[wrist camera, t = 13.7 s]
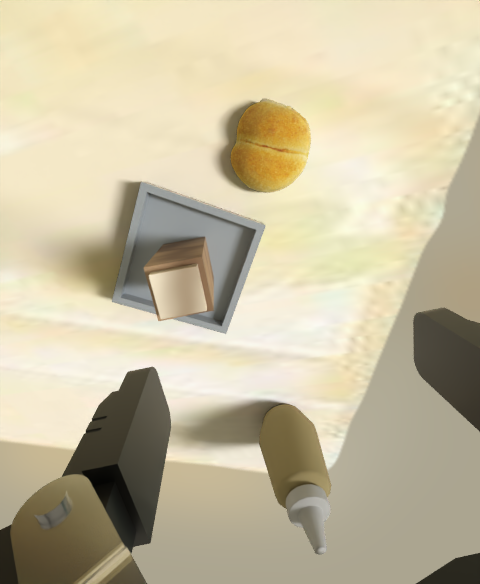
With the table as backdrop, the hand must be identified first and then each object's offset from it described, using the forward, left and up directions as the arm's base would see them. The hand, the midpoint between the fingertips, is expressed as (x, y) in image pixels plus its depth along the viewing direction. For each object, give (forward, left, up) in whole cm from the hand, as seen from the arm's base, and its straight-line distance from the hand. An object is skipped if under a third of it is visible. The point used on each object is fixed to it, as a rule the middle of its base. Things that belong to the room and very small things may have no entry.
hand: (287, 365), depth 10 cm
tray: (-4, -5, -30) cm, 31 cm away
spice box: (-4, -5, -29) cm, 30 cm away
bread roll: (+1, +10, -31) cm, 32 cm away
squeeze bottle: (+16, -24, -30) cm, 42 cm away
